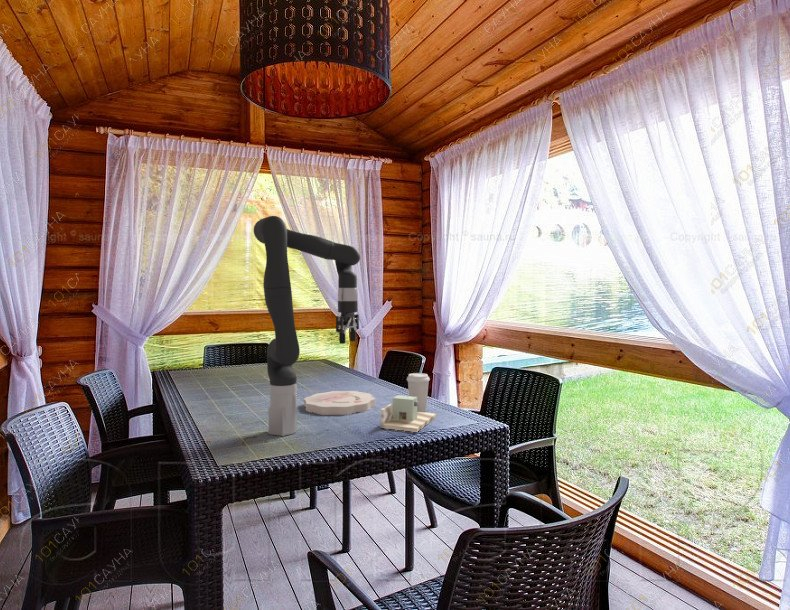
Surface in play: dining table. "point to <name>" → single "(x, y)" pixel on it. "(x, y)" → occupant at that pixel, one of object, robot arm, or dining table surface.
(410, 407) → the block
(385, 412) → the cleat board
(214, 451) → the dining table surface
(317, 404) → the decorative plaque
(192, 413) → the dining table surface
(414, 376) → the coffee cup
